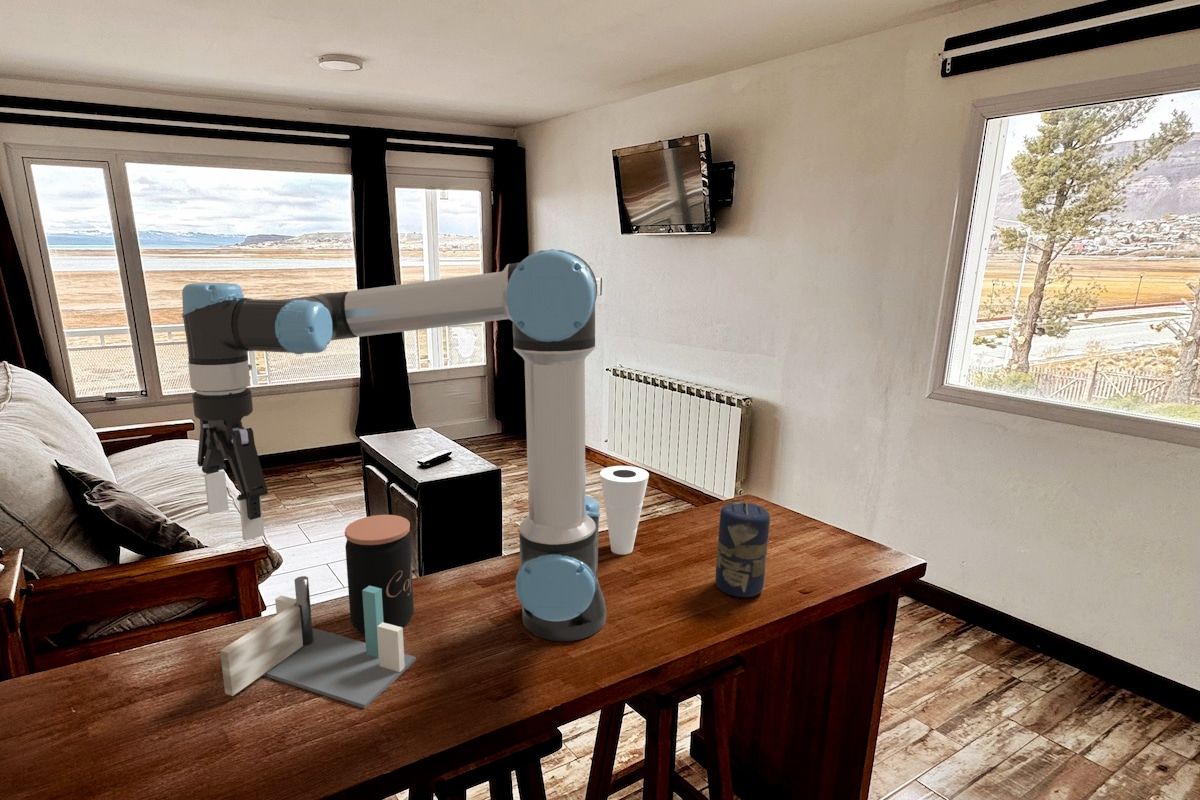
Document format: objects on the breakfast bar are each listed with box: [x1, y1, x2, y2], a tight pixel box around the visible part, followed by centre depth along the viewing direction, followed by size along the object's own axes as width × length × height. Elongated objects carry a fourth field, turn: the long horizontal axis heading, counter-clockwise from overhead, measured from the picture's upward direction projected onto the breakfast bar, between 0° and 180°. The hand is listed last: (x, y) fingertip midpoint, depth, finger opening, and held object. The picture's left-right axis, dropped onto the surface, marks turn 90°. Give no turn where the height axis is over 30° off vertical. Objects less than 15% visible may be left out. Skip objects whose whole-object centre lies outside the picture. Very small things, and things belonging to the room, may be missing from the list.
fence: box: [274, 594, 405, 672], centre depth 102 cm, size 24×1×7 cm, turn 70°
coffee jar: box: [344, 514, 415, 636], centre depth 110 cm, size 11×11×18 cm
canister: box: [714, 501, 771, 598], centre depth 125 cm, size 10×10×18 cm
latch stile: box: [362, 586, 383, 658], centre depth 101 cm, size 2×2×12 cm
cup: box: [599, 465, 650, 556], centre depth 140 cm, size 11×11×18 cm
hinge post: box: [294, 575, 313, 646], centre depth 104 cm, size 2×2×12 cm
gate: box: [219, 605, 303, 697], centre depth 97 cm, size 13×2×7 cm, turn 160°
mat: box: [262, 627, 417, 709], centre depth 100 cm, size 25×12×1 cm, turn 70°
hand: (235, 524), depth 98 cm, fingers open, 13 cm apart
